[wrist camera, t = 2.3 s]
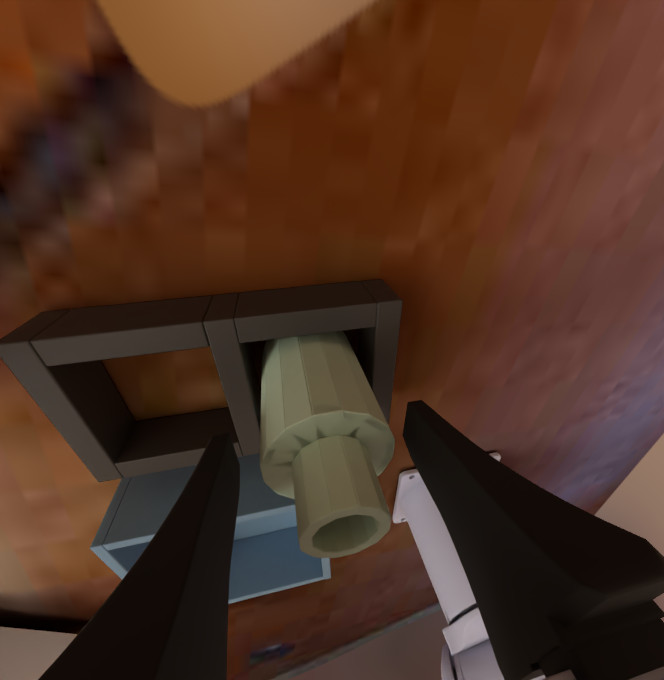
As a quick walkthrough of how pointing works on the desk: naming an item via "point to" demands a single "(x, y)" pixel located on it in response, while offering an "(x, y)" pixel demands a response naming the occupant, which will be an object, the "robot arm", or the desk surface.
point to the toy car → (29, 652)
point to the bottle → (324, 442)
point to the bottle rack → (180, 334)
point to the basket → (249, 539)
